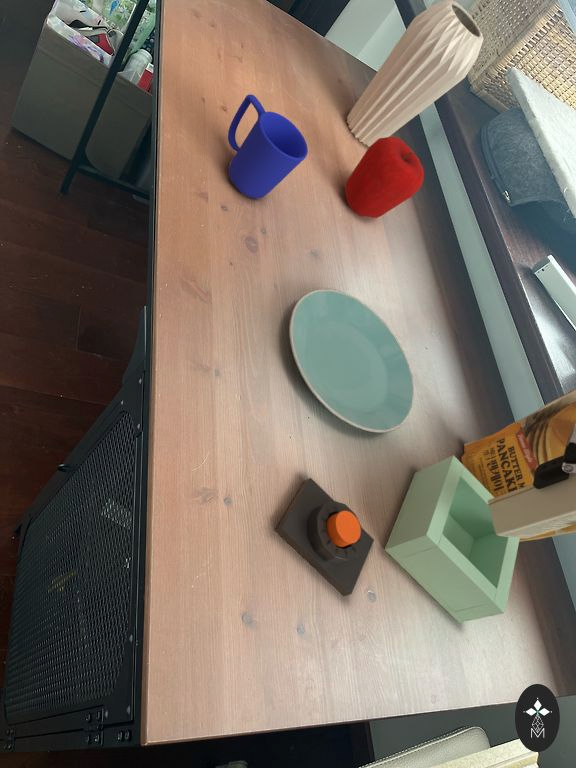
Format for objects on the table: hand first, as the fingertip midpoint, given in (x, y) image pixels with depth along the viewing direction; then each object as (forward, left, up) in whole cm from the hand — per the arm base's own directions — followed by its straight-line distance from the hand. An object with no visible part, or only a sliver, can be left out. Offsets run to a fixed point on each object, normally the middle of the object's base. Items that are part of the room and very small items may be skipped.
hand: (559, 502), depth 69 cm
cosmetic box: (0, 0, -7) cm, 7 cm away
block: (+15, +12, -18) cm, 27 cm away
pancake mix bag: (-5, -14, -19) cm, 24 cm away
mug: (+54, -26, -19) cm, 63 cm away
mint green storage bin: (0, 0, -18) cm, 18 cm away
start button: (+15, +12, -16) cm, 25 cm away
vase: (+47, -67, -19) cm, 84 cm away
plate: (+24, -12, -19) cm, 33 cm away
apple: (+38, -46, -19) cm, 63 cm away
